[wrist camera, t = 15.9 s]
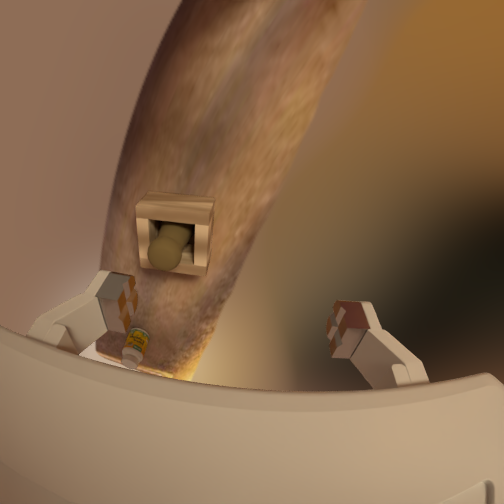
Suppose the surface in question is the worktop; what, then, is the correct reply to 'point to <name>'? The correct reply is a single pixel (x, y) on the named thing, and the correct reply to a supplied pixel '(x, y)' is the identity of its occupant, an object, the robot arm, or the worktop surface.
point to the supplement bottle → (134, 348)
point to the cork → (169, 245)
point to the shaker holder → (180, 211)
